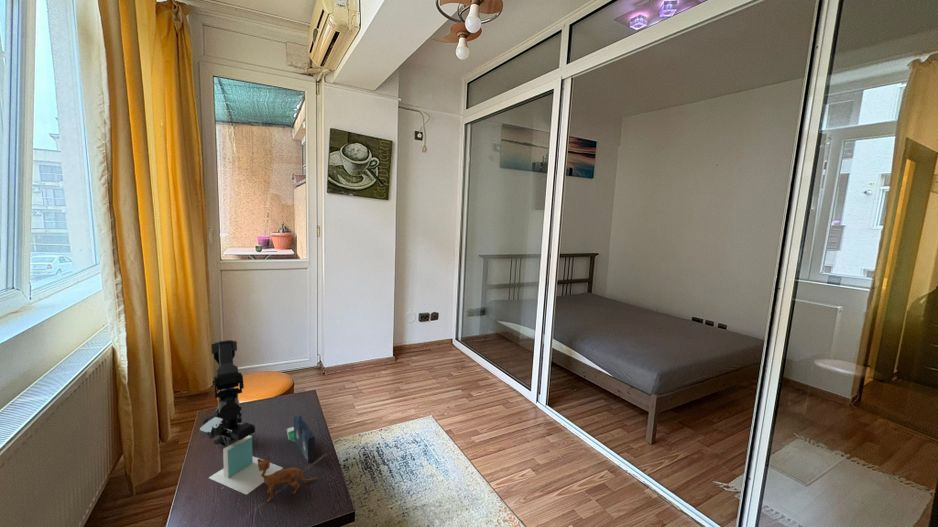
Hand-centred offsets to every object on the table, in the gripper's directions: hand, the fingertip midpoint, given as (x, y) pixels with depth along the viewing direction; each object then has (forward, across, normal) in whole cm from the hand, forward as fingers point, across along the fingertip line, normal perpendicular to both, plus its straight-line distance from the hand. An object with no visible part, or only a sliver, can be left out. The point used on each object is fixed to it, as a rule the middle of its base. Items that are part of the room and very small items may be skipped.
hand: (229, 448), depth 127 cm
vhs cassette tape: (+8, +15, +18) cm, 25 cm away
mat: (+7, +8, 0) cm, 11 cm away
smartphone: (+8, +6, +24) cm, 26 cm away
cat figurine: (+8, +27, +1) cm, 28 cm away
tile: (+6, +4, 0) cm, 8 cm away
